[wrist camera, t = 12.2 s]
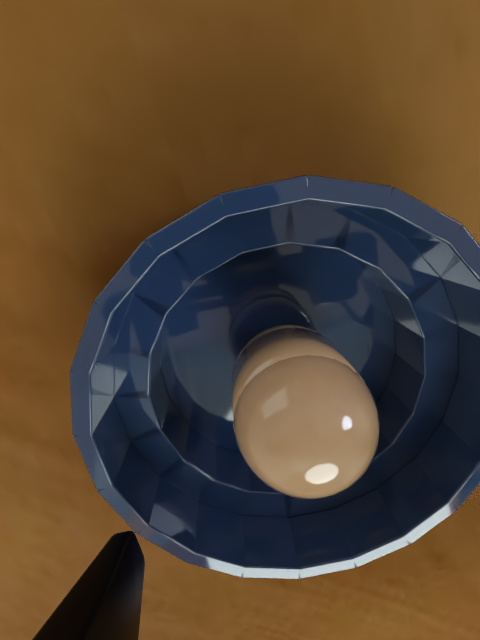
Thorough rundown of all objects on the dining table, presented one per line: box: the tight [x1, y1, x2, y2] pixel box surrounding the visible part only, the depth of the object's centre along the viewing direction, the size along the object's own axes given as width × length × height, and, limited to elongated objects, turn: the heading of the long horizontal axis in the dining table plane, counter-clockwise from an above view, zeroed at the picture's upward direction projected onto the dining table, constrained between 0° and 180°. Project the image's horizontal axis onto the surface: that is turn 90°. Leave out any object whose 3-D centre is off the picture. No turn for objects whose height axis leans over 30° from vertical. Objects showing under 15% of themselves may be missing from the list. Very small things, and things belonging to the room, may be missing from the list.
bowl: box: [70, 175, 480, 579], centre depth 13 cm, size 14×14×5 cm
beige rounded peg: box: [231, 324, 380, 499], centre depth 12 cm, size 4×4×7 cm
